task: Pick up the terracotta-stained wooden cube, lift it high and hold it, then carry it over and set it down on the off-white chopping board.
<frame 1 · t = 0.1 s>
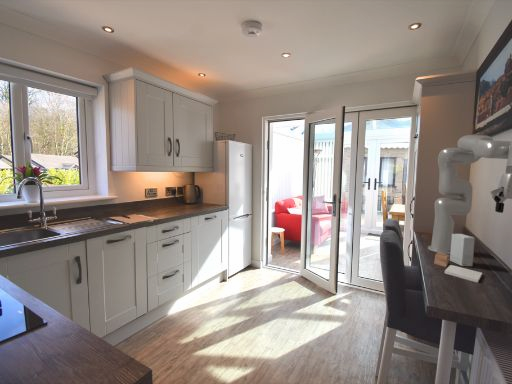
hand: (511, 213, 108), 31 cm above the countertop, tool pointing down, fingers open, 9 cm apart
chopping board: (463, 274, 121), on the countertop
wooden cube: (441, 264, 134), on the countertop
skincare box: (459, 263, 136), on the countertop
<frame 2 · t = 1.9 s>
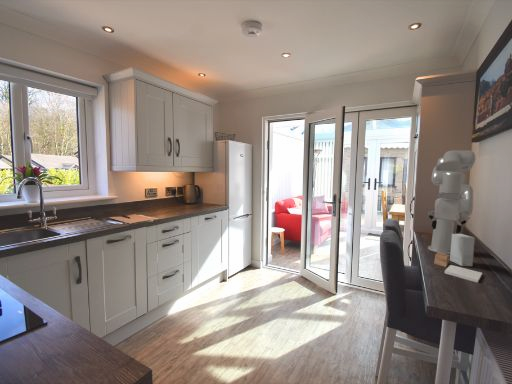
hand: (445, 230, 131), 17 cm above the countertop, tool pointing down, fingers open, 9 cm apart
nothing on the countertop moved.
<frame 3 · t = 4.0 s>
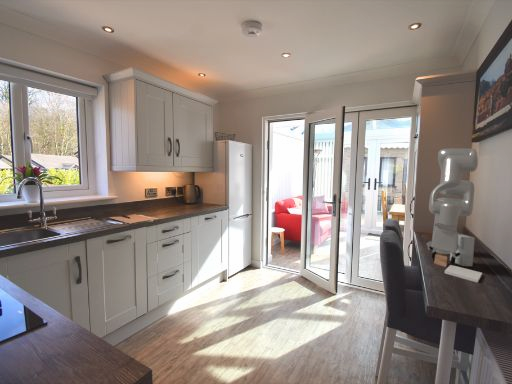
hand: (442, 262, 133), 1 cm above the countertop, tool pointing down, fingers open, 6 cm apart
nothing on the countertop moved.
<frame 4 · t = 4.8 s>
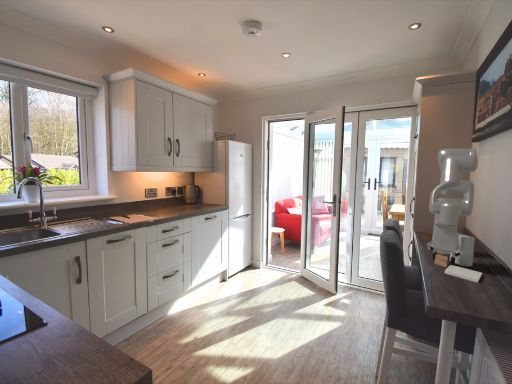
hand: (443, 262, 133), 1 cm above the countertop, tool pointing down, fingers open, 6 cm apart
wooden cube: (441, 264, 133), on the countertop, touching gripper
everything else where it was.
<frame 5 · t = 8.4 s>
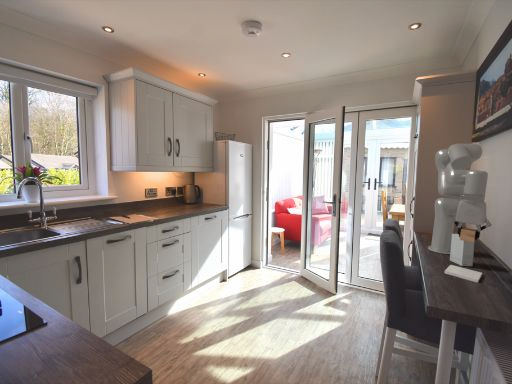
hand: (468, 237, 120), 17 cm above the countertop, tool pointing down, fingers closed on wooden cube, 5 cm apart
wooden cube: (467, 240, 120), point 16 cm above the countertop, touching gripper
everything else where it was.
when the fingers open (3 cm above the countertop, at t = 11.8 s): wooden cube stays where it is, resting on chopping board.
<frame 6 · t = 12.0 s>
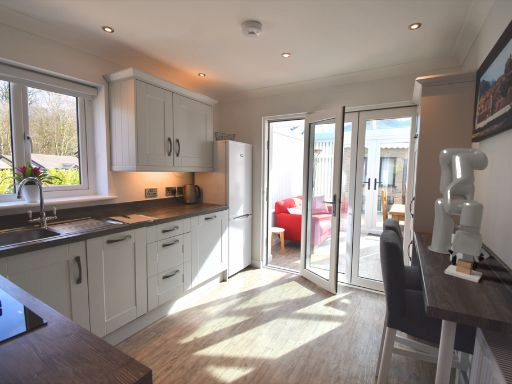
hand: (464, 266, 121), 4 cm above the countertop, tool pointing down, fingers open, 6 cm apart
wooden cube: (463, 271, 122), point 1 cm above the countertop, touching chopping board
everything else where it was.
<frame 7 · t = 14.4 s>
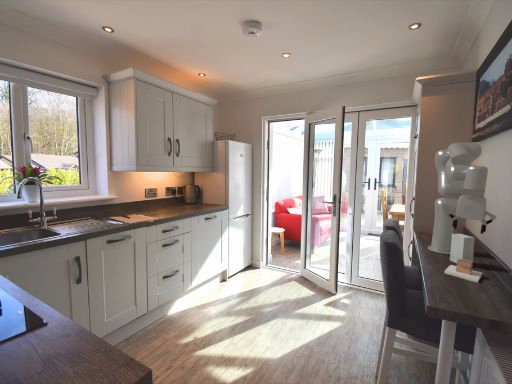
hand: (468, 231, 120), 20 cm above the countertop, tool pointing down, fingers open, 9 cm apart
nothing on the countertop moved.
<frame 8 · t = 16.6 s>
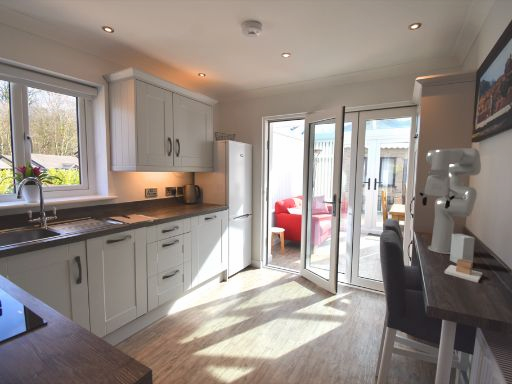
hand: (435, 206, 136), 28 cm above the countertop, tool pointing down, fingers open, 9 cm apart
nothing on the countertop moved.
at the end: wooden cube inside the target area on the chopping board (0.4 cm from its centre), point 1.2 cm above the chopping board's base; wooden cube tilted 0°; the gripper is holding nothing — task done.
